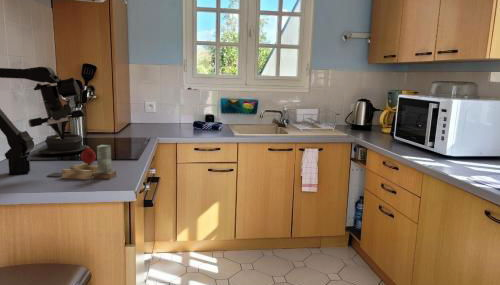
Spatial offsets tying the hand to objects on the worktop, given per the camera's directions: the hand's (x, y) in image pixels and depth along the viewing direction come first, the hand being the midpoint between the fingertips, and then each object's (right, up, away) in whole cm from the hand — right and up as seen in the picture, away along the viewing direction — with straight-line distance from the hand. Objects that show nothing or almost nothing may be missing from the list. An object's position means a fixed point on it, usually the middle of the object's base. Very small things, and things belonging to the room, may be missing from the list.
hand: (62, 139), depth 148 cm
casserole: (-19, -6, +42) cm, 47 cm away
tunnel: (+9, -14, -3) cm, 16 cm away
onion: (+3, -11, +16) cm, 20 cm away
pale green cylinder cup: (+18, -14, -4) cm, 23 cm away
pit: (-1, -13, -3) cm, 14 cm away
